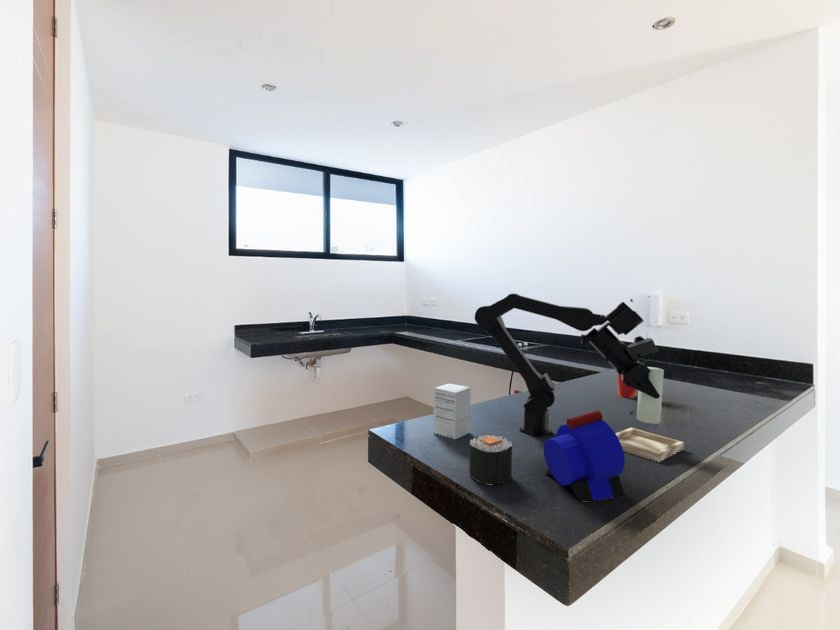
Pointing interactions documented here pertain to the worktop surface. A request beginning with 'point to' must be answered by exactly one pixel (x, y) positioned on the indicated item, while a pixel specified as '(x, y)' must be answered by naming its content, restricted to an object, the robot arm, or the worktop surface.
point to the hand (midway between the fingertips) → (656, 394)
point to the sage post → (651, 399)
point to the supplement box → (452, 410)
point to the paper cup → (625, 389)
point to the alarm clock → (586, 457)
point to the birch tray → (648, 444)
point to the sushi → (490, 459)
